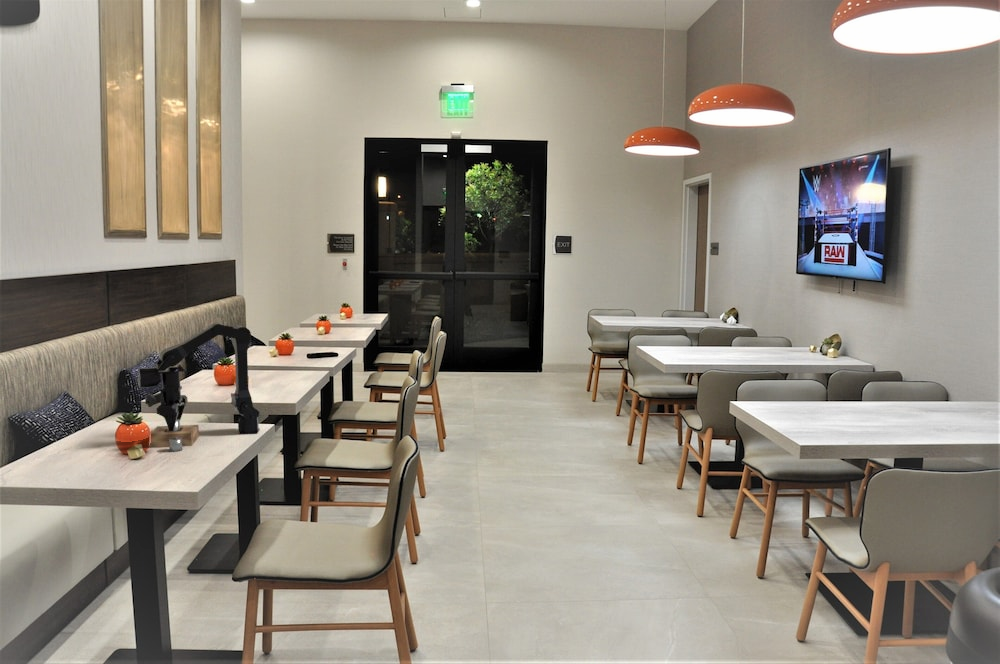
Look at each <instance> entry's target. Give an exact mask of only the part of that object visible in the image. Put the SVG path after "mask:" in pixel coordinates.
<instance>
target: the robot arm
mask: <svg viewBox="0 0 1000 664" xmlns="http://www.w3.org/2000/svg"><path fill="white" fill-rule="evenodd" d="M217 336H222V337H227V338H231V343H232V346H233V348H234V359H235V360H234V361H235V364H234V365H235V390H234V393H233V392H232V393H230V398H231V402H230V405H232V408H233V409H234V410H235V411H236V412H238V414H239V415H240V416H239V417H238V418H239V419H238V421H237V428H238V429H237V430H238V432H239V433H238V434H239V435H257V434H258V433H259V431H260V427H259V426H260V425H259V416H260V411H259V410H258V409H257V408H255V407H254V403H253V399H252V395H251V393H250V390H249V369H248V368H249V367H248V366H249V365H248V364H249V363H248V361H249V360H248V350H249V348H250V345H251V344H250V343H251V338H252V337H251V336H252V334H251V331H250V330H249V329H248V327H245V326H242V325H234V326H231V325H226V324H220V323H217V322H214V323H212V324H211V325H210V326H209V327H206V328H205V329H203V330H202V331H200V332H198V333H196V334H195V335H193V336H192V337H191V336H190V338H188V339H186V340H185V341H183V342H181V343H178V344H175V345H171V346H169V347H167V348H165V349H163V350H161V351H160V353H159V359H158V360H157V362H156V363H155V364H154V366H153V367H139V368H138V374H137V375H138V376H137V383H138V388H139V389H144V388H153V387H158V385H160V384H161V385H162V386H161V387H162V388H161V389H160V391H159V392H157V393H155V394H152V393H151V394H149V395H148V394H147V395H146V398H145V399H144V400H145V401H144V404H145V405H147V407H148V408H151V407H153V406H154V405H155V406H156V405H157V404H160V405H158V407H156V415H159V416H162V417H163V418H164V420H165V423H166V426H168V428H169V431H173V429H174V426H175V423H176V419H180V420H181V419H182V416H183V413H184V411H185V409H186V406H187V404H188V397H187V396H186V394H182V393H181V390H182V389H183V388H182V387H183V386H182V385H181V378H180V376H181V375H180V372H181V373H182V372H186V368H184V367H183V366H182V365H181V364H180V362H182V361H183V360H184V359H185V358H186V357H187V356H188V355H189V354H190V353H191V352H193V351H195V350H196V349H198V348H200V347H201V346H203V345H205V344H207V342H210V341H211V340H213V339H214V338H216V337H217ZM161 382H162V383H161Z"/></svg>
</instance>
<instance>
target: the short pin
mask: <svg viewBox="0 0 1000 664" xmlns="http://www.w3.org/2000/svg"><path fill="white" fill-rule="evenodd" d="M168 448H169V452H171V453H178V452H182V451H183V446H182V438H179V437H177V438H171V439H169V447H168Z"/></svg>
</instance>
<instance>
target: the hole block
mask: <svg viewBox="0 0 1000 664" xmlns="http://www.w3.org/2000/svg"><path fill="white" fill-rule="evenodd" d="M199 427H200V426H199V424H184V425H181V424H180V431H177V432H168V426H167V425H162V426H160V425H159V426H158V425H157V426H156V427H155V428H153V430H152V431H151V432H150V433H151V443H150V446H149V445H148V448H149V449H150V448H151V449H152V448H169V439H171V438H177V437H179V438H182V447H192V446H193V445H194V443H195V442H196V441H197V440H198V439H199V438H200V433H199V432H200V430H199V429H200V428H199Z"/></svg>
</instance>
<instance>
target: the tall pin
mask: <svg viewBox="0 0 1000 664" xmlns="http://www.w3.org/2000/svg"><path fill="white" fill-rule="evenodd" d="M180 421H181V419H176V423H175V426H174V429H173V431H169V428H168V432H177V431H180V425H181V423H180Z"/></svg>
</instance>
